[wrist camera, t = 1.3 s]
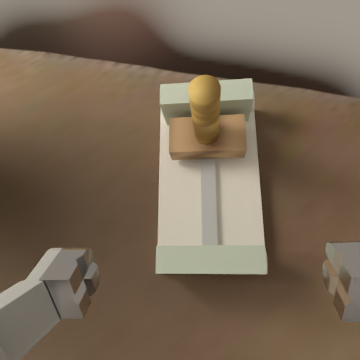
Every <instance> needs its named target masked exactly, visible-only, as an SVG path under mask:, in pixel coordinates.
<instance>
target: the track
mask: <svg viewBox="0 0 360 360" xmlns="http://www.w3.org/2000/svg"><path fill="white" fill-rule="evenodd" d="M219 83H220V86H221V97H220V115H234V114H244V115H245V130H246V145H247V150H246V154H245V157H244V158H218V159H191V160H172V159H171V156H170V154H169V118H178V117H192V114H191V107H190V101H189V94H188V87H189V84H190V83H176V84H161V85H160V107H161V121H160V164H159V208H158V246H156V274H267V265H268V264H267V253H266V249H265V241H264V229H263V216H262V203H261V190H260V177H259V165H258V152H257V139H256V126H255V113H254V91H253V86H252V78H250V79H235V80H220V81H219Z"/></svg>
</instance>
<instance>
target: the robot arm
mask: <svg viewBox="0 0 360 360" xmlns="http://www.w3.org/2000/svg"><path fill="white" fill-rule="evenodd" d="M325 253H326V255H327V257H328V258H327V259H326V260H325V261H324V262H323V269H322V271H323V279H324V283H325V286H326V288H327V290H328V292H330V293H331V294H332V295H334V302H333V303H334V306H335V308H336V310H337V312H338V314H339V316H340V318H341V321H343V322H360V241H352V242H328V243H327V245H326V248H325ZM94 257H95V256H94V253H93V250H92V249H91V248H51V249H49V250H47V252H46V253H45V254H44V256H43V257H42V258H41V260H40V261H39V262H38V264H37V265H36V266H35V268H34V269H33V270H32V272H31V273H30V274H29V276H28V277H27V278H26V280H25V281H20V282H18V283H16V284H15V285H13V286H12V287H10V288H8V289H7V290H5V291H4V292H2V293H0V360H20V359H21V358H22V357H23V356H24V355H25V354H26V353H27V352H28V351H29V350H30V349H31V348H32V347H33V346H34V345H35V344H37V343H38V342H39V341H40V340H41V339H42V338H43V337H44V336H45V335H46V334H47V333H48V332H49V331H50V330H51V329H52V328H53V327H54V326H55V325H56V324H57V323H58V322H59V321H60V319H84V317H85V315H86V313H87V310H88V308H89V306H90V304H91V300H90V296H91V295H92V294H94V293H95V292H96V290H97V287H98V285H99V278H100V274H99V268H98V265H96V264H95V263H94V262H93V259H94Z"/></svg>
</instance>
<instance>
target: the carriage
mask: <svg viewBox="0 0 360 360" xmlns="http://www.w3.org/2000/svg"><path fill="white" fill-rule="evenodd" d="M188 94H189V101H190V107H191V114H192V117H178V118H169V154H170V156H171V159H172V160H191V159H218V158H244V157H245V154H246V150H247V145H246V130H245V115H244V114H234V115H220V97H221V86H220V83H219V81H218V80H217V79H216V78H214V77H213V76H210V75H201V76H198V77H196V78H194V79H193V80H192V81H191V82H190V84H189V87H188Z"/></svg>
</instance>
